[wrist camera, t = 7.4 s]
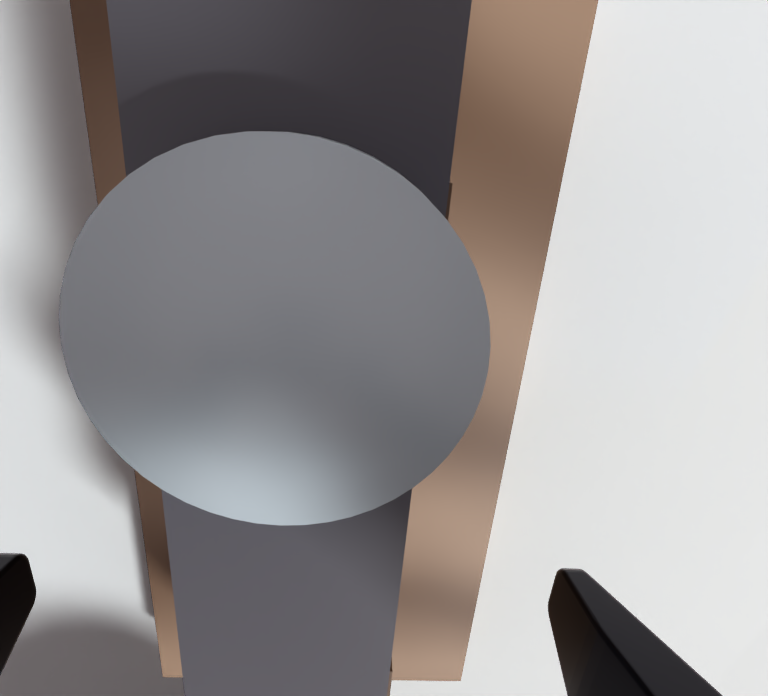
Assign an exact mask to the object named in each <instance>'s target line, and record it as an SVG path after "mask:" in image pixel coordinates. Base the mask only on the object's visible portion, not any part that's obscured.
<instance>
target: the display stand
mask: <svg viewBox="0 0 768 696" xmlns="http://www.w3.org/2000/svg"><path fill="white" fill-rule="evenodd" d="M597 4H598V0H472V3H471V12H470V20H469V28H468V36H467V44H466V52H465V61H464V69H463V77H462V85H461V93H460V102H459V110H458V118H457V126H456V134H455V142H454V151H453V159H452V167H451V175H450V183H449V192H448V200H447V208H446V216H445V218H446V219H447V220H448V222H449V223H450V225H451V226H452V228H453V229H454V231H455V232H456V234H457V235H458V237H459V238H460V239H461V241H462V242H463V244H464V246H465V248H466V250H467V252H468V254H469V256H470V258H471V260H472V262H473V264H474V266H475V268H476V270H477V273H478V276H479V279H480V282H481V285H482V288H483V291H484V294H485V299H486V304H487V310H488V315H489V321H490V344H491V348H490V357H489V367H488V374H487V378H486V382H485V386H484V390H483V394H482V397H481V399H480V402H479V405H478V407H477V410H476V412H475V415H474V417H473V419H472V421H471V422H470V424H469V426H468V428H467V429H466V431H465V433H464V435H463V437H462V438H461V439H460V441H459V442H458V443H457V445H456V446H455V447H454V449H453V450H452V451H451V453H450V454H449V455H448V457H447V458H446V459H445V460H444V461H443V462H442V463H441V464H440V465H439V466H438V467H437V468H436V469H435V470H434V471H433V472H432V473H431V474H430V475H428V476H427V477H426V478H425V479H423V480H422V481H421V482H420V483H418V484H417V485H416V486H415V487H413V488H412V494H411V502H410V511H409V519H408V527H407V535H406V543H405V551H404V560H403V568H402V576H401V584H400V592H399V600H398V609H397V617H396V625H395V633H394V641H393V650H392V658H391V666H390V674H389V682H388V690H387V696H390V688H391V680H425V681H461V676H462V671H463V666H464V661H465V656H466V651H467V647H468V642H469V637H470V632H471V627H472V622H473V617H474V612H475V607H476V602H477V597H478V592H479V587H480V582H481V577H482V572H483V567H484V563H485V558H486V553H487V548H488V543H489V538H490V533H491V528H492V523H493V518H494V513H495V508H496V503H497V498H498V493H499V488H500V483H501V478H502V474H503V469H504V464H505V459H506V454H507V449H508V444H509V439H510V434H511V429H512V424H513V419H514V414H515V409H516V404H517V399H518V394H519V389H520V385H521V380H522V375H523V370H524V365H525V360H526V355H527V350H528V345H529V340H530V335H531V330H532V325H533V320H534V315H535V310H536V305H537V300H538V296H539V291H540V286H541V281H542V276H543V271H544V266H545V261H546V256H547V251H548V246H549V241H550V236H551V231H552V226H553V221H554V216H555V212H556V207H557V202H558V197H559V192H560V187H561V182H562V177H563V172H564V167H565V162H566V157H567V152H568V147H569V142H570V137H571V132H572V127H573V123H574V118H575V113H576V108H577V103H578V98H579V93H580V88H581V83H582V78H583V73H584V68H585V63H586V58H587V53H588V48H589V43H590V38H591V34H592V29H593V24H594V19H595V14H596V9H597ZM70 6H71V14H72V21H73V28H74V35H75V43H76V50H77V57H78V64H79V72H80V79H81V86H82V94H83V101H84V108H85V115H86V123H87V130H88V137H89V144H90V152H91V159H92V166H93V173H94V181H95V188H96V195H97V202H98V205H99V204H100V203H101V201H102V200H103V199H104V197H105V196H106V195H107V194H108V193H109V192H110V191H111V190H112V189H113V188H115V187H116V186H117V185H118V184H119V183H120V182H121V181H122V180H123V179H124V178H126V171H125V162H124V153H123V144H122V136H121V127H120V118H119V109H118V100H117V91H116V82H115V74H114V65H113V56H112V47H111V38H110V29H109V20H108V12H107V3H106V0H70ZM134 471H135V478H136V486H137V493H138V500H139V507H140V515H141V522H142V529H143V536H144V544H145V551H146V558H147V565H148V573H149V580H150V587H151V594H152V602H153V609H154V616H155V624H156V631H157V638H158V645H159V653H160V660H161V667H162V674H163V677H183V676H182V667H181V658H180V649H179V640H178V631H177V623H176V614H175V605H174V596H173V587H172V578H171V569H170V561H169V552H168V543H167V534H166V525H165V516H164V507H163V499H162V490H161V488H159V487H158V486H156V485H155V484H153V483H152V482H150V481H149V480H147V479H146V478H144V477H143V476H142V475H141V474H139V473H138V472H137V471H136V470H135V469H134Z"/></svg>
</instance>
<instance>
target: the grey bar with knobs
mask: <svg viewBox="0 0 768 696" xmlns="http://www.w3.org/2000/svg"><path fill="white" fill-rule="evenodd" d="M106 3H107V12H108V20H109V29H110V38H111V47H112V56H113V65H114V74H115V82H116V91H117V100H118V109H119V118H120V127H121V136H122V144H123V153H124V162H125V171H126V178H124V179H123V180H122V181H121V182H120V183H119V184H118V185H117V186H116V187H115V188H113V189H112V190H111V191H110V192H109V193H108V194H107V195H106V196H105V197H104V199H103V200H102V201H101V203H100V204H99V205H98V206H97V208H96V209H95V210H94V211H93V213H92V214H91V215H90V216H89V218H88V219H87V221H86V223H85V225H84V227H83V228H82V230H81V232H80V234H79V236H78V237H77V239H76V241H75V243H74V246H73V248H72V251H71V254H70V257H69V259H68V262H67V265H66V268H65V272H64V277H63V282H62V287H61V292H60V308H59V327H60V336H61V346H62V351H63V355H64V359H65V363H66V367H67V371H68V374H69V377H70V379H71V382H72V384H73V387H74V389H75V392H76V394H77V397H78V399H79V401H80V402H81V404H82V406H83V408H84V409H85V411H86V413H87V415H88V416H89V418H90V420H91V422H92V423H93V424H94V426H95V427H96V428H97V430H98V431H99V432H100V434H101V435H102V436H103V438H104V439H105V440H106V442H107V443H108V444H109V445H110V446H111V447H112V448H113V449H114V450H115V451H116V452H117V453H118V455H119V456H120V457H121V458H122V459H123V460H124V461H125V462H126V463H128V464H129V465H130V466H131V467H132V468H134V469H135V470H136V471H137V472H138V473H139V474H141V475H142V476H143V477H144V478H146V479H147V480H149V481H150V482H152V483H153V484H155V485H156V486H158V487H159V488H161V490H162V499H163V507H164V516H165V525H166V534H167V543H168V552H169V561H170V569H171V578H172V587H173V596H174V605H175V614H176V623H177V631H178V640H179V649H180V658H181V667H182V676H183V685H184V693H185V696H387V690H388V682H389V674H390V666H391V658H392V650H393V641H394V633H395V625H396V617H397V609H398V600H399V592H400V584H401V576H402V568H403V560H404V551H405V543H406V535H407V527H408V519H409V511H410V502H411V494H412V488H413V487H415V486H416V485H417V484H418V483H420V482H421V481H422V480H423V479H425V478H426V477H427V476H428V475H430V474H431V473H432V472H433V471H434V470H435V469H436V468H437V467H438V466H439V465H440V464H441V463H442V462H443V461H444V460H445V459H446V458H447V457H448V455H449V454H450V453H451V451H452V450H453V449H454V447H455V446H456V445H457V443H458V442H459V441H460V439H461V438H462V437H463V435H464V433H465V431H466V429H467V428H468V426H469V424H470V422H471V421H472V419H473V417H474V415H475V412H476V410H477V407H478V405H479V402H480V399H481V397H482V394H483V390H484V386H485V382H486V378H487V374H488V367H489V357H490V348H491V344H490V321H489V315H488V310H487V304H486V299H485V294H484V291H483V288H482V285H481V282H480V279H479V276H478V273H477V270H476V268H475V266H474V264H473V262H472V260H471V258H470V256H469V254H468V252H467V250H466V248H465V246H464V244H463V242H462V241H461V239H460V238H459V237H458V235H457V234H456V232H455V231H454V229H453V228H452V226H451V225H450V223H449V222H448V220H447V219H446V218H445V216H446V208H447V200H448V192H449V183H450V175H451V167H452V159H453V151H454V142H455V134H456V126H457V118H458V110H459V102H460V93H461V85H462V77H463V69H464V61H465V52H466V44H467V36H468V28H469V20H470V12H471V3H472V0H106Z"/></svg>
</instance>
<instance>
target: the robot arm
mask: <svg viewBox="0 0 768 696" xmlns="http://www.w3.org/2000/svg"><path fill="white" fill-rule="evenodd" d="M35 597H36V587H35V583H34V579H33V575H32V571H31V568H30V564H29V560H28V558H27V557H26V556H25V555H24V554H17V553H0V675H1V673H2V671H3V669H4V667H5V664H6V662H7V660H8V658H9V656H10V654H11V652H12V650H13V647H14V645H15V643H16V641H17V639H18V637H19V635H20V633H21V630H22V628H23V626H24V624H25V622H26V620H27V618H28V616H29V613H30V611H31V609H32V607H33V605H34V601H35ZM548 612H549V618H550V622H551V627H552V631H553V635H554V640H555V644H556V648H557V652H558V657H559V661H560V665H561V670H562V674H563V678H564V682H565V687H566V691H567V695H568V696H722V695H721V694H720V693H719V692H718V691H717V690H716V689H715V688H714V687H712V686H711V685H710V684H709V683H708V682H707V681H706V680H705V679H704V678H702V677H701V676H700V675H699V674H698V673H697V672H696V671H695V670H694V669H693V668H691V667H690V666H689V665H688V664H687V663H686V662H685V661H684V660H683V659H681V658H680V657H679V656H678V655H677V654H676V653H675V652H674V651H673V650H672V649H670V648H669V647H668V646H667V645H666V644H665V643H664V642H663V641H662V640H660V639H659V638H658V637H657V636H656V635H655V634H654V633H653V632H652V631H651V630H649V629H648V628H647V627H646V626H645V625H644V624H643V623H642V622H641V621H639V620H638V619H637V618H636V617H635V616H634V615H633V614H632V613H631V612H629V611H628V610H627V609H626V608H625V607H624V606H623V605H622V604H621V603H620V602H618V601H617V600H616V599H615V598H614V597H613V596H612V595H611V594H610V593H608V592H607V591H606V590H605V589H604V588H603V587H602V586H601V585H600V584H599V583H597V582H596V581H595V580H594V579H593V578H592V577H591V576H590V575H589V574H587V573H586V572H585V571H583V570H581V569H567V568H562V569H559V570H558V572H557V574H556V576H555V580H554V584H553V587H552V591H551V594H550V598H549V602H548Z"/></svg>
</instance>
